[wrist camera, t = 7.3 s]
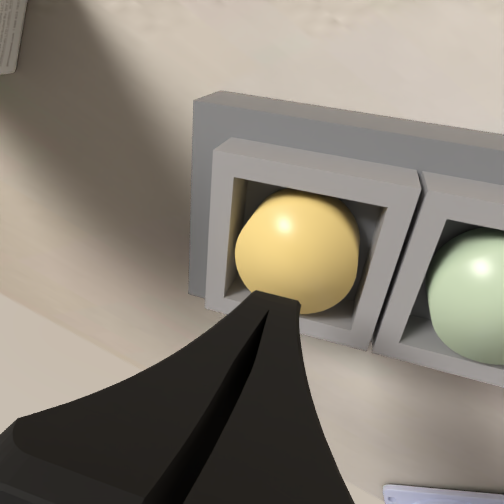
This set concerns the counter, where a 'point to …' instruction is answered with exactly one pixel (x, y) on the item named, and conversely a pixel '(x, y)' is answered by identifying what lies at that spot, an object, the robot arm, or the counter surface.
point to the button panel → (357, 201)
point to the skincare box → (10, 33)
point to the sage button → (469, 294)
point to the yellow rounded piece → (300, 249)
